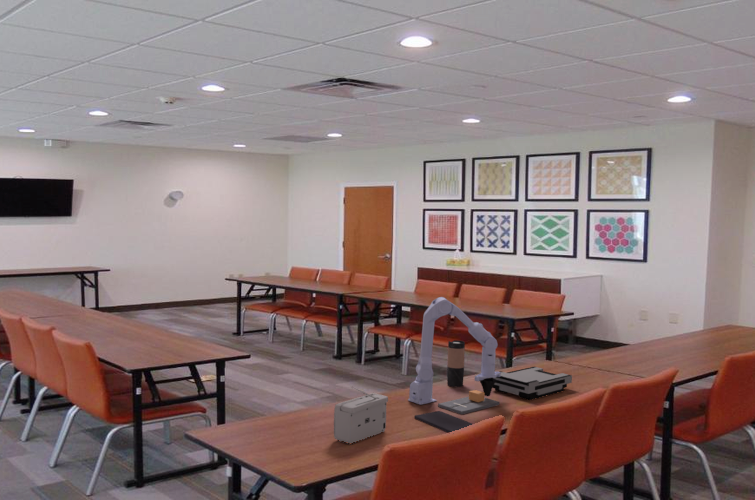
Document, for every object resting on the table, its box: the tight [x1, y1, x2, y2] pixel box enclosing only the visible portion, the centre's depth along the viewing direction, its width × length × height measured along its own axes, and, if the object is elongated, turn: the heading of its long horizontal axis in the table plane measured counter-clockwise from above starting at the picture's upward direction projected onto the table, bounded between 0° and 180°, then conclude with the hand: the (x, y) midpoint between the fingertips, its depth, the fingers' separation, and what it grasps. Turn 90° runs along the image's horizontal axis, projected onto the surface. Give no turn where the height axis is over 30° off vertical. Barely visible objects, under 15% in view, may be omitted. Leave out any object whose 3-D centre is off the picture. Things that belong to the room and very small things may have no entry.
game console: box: [492, 366, 573, 401], centre depth 305 cm, size 21×32×8 cm, turn 131°
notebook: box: [414, 410, 473, 433], centre depth 255 cm, size 13×2×21 cm
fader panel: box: [437, 396, 500, 415], centre depth 279 cm, size 23×13×1 cm, turn 130°
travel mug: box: [446, 339, 466, 388], centre depth 310 cm, size 8×8×20 cm
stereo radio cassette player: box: [333, 386, 389, 444], centre depth 237 cm, size 21×8×20 cm, turn 141°
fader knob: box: [468, 389, 485, 402], centre depth 281 cm, size 4×5×3 cm
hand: (487, 395), depth 286 cm, fingers closed
